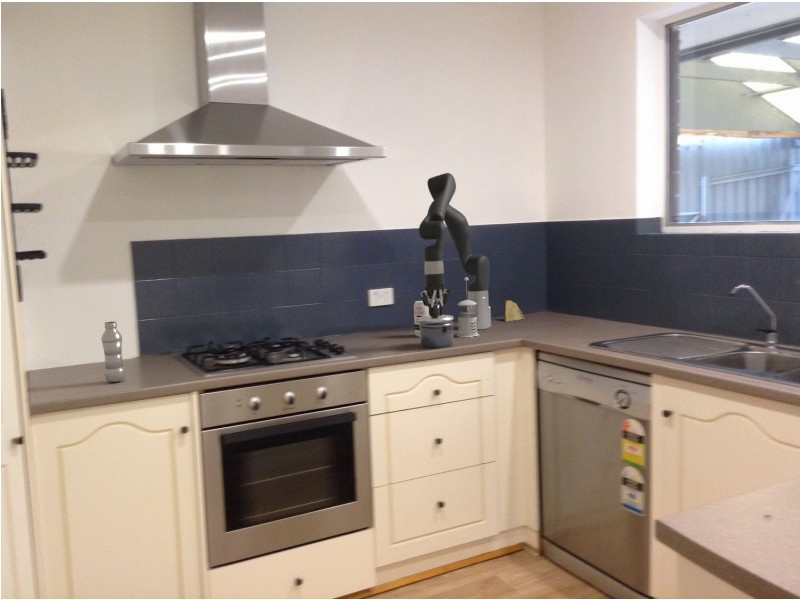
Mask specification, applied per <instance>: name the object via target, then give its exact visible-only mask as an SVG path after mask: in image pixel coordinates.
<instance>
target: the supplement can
mask: <svg viewBox="0 0 800 600" xmlns="http://www.w3.org/2000/svg"><path fill="white" fill-rule="evenodd" d="M422 316H429V308H428V306H424V304H423V302H422V300H417V301H415V302H414V304H413V318H414V319H413V320H414V335H415V336H416V338H417V337H418V338H420V326H419V323H421V321H419V317H422Z"/></svg>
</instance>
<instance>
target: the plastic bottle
mask: <svg viewBox="0 0 800 600" xmlns="http://www.w3.org/2000/svg"><path fill="white" fill-rule="evenodd" d="M117 327H118V325H117V321H106V322H104V329H105V330H104V332H103V334H102V335H101V344H102V347H103V353H104V378H105V381H106V382H107V383H108V382H109V383H119V382H121V381H123V380H125V379H126V369H125V366H124V361H123V354H122V352H123V350H122V347H123V346H122V344H123V336H122V334H121V333H120V331H119V330H118V329H117Z"/></svg>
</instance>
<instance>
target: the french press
mask: <svg viewBox="0 0 800 600" xmlns="http://www.w3.org/2000/svg"><path fill="white" fill-rule="evenodd" d="M463 281H465V288H466V291H465V293H466V295H465V296H466V297H468V285H467V281H469V277H467V276H466V277H464V278H463ZM476 304H477V303H475V302H473V301H470V300H468V299H464V300H462V301H459V302H457V306H459V307H466V311H464V312H463V311H462V312H459V313H458V315H459V316H458V318H457V320H458V321H457V322H458V334H456V337H457V336H461V337H460V338H462V337H471V338H474V337H473V336H478V335H479V336H480V334H479V332H478V329H477V316H473V315H475V314H476V313H475V312H473V311H472V312H469V309H468V306H471V308H472V306H474V305H476ZM471 308H470V309H471ZM469 315H472V316H470V318H469ZM475 322H476V323H475ZM475 325H476V326H475ZM475 328H476V329H475ZM479 336H478V337H479Z"/></svg>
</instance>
